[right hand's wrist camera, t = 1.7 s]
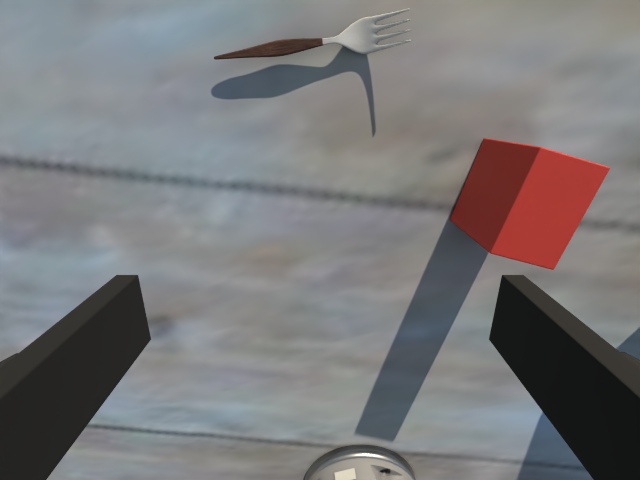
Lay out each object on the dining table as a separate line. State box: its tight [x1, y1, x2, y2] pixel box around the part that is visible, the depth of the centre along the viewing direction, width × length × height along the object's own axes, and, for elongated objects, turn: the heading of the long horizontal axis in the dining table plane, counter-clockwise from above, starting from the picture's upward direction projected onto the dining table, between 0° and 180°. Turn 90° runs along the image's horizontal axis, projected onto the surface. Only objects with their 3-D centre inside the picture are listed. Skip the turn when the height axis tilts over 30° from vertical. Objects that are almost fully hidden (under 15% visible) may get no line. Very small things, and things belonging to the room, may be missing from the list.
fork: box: [214, 8, 411, 59], centre depth 28 cm, size 3×16×2 cm, turn 98°
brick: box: [450, 138, 610, 270], centre depth 29 cm, size 5×8×9 cm
